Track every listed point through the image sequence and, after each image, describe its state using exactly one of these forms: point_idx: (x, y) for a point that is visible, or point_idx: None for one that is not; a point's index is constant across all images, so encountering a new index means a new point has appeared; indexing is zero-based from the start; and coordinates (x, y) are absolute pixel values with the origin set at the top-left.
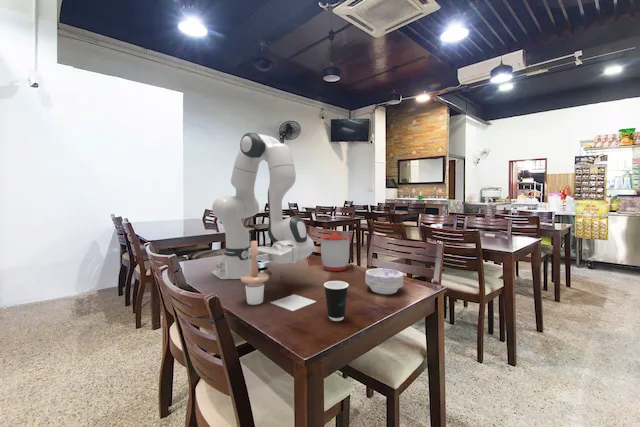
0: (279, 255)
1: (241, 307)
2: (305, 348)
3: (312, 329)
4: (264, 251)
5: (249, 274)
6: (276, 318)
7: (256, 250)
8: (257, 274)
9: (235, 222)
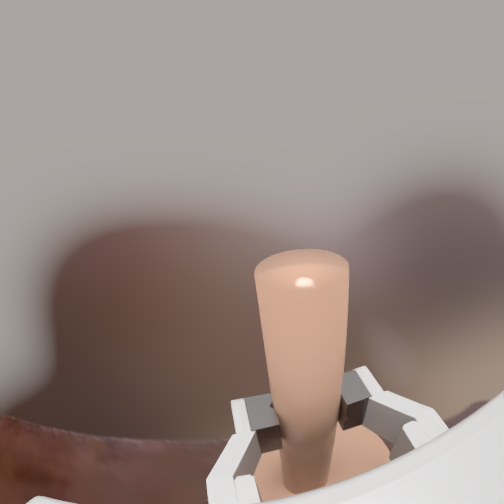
0: (38, 499)
1: None
2: (2, 432)
3: (14, 491)
4: (319, 490)
5: (362, 458)
6: (116, 498)
7: (268, 372)
8: (285, 483)
9: None
